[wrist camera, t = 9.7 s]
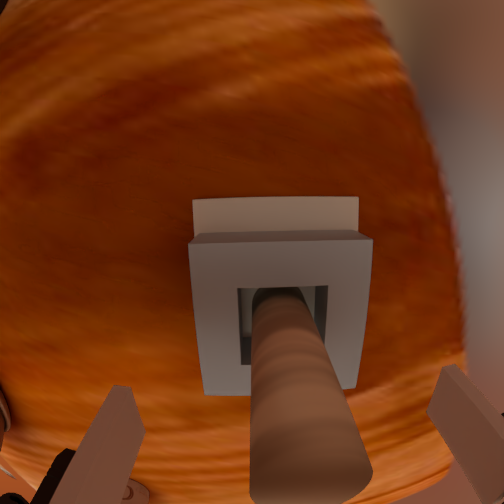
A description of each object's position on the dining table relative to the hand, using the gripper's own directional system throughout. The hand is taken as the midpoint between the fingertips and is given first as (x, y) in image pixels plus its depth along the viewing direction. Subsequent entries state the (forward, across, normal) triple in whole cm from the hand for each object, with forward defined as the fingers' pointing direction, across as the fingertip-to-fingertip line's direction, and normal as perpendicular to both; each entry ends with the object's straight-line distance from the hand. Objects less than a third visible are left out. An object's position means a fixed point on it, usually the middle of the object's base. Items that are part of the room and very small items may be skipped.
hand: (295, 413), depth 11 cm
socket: (+13, 0, -1) cm, 13 cm away
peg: (+12, 0, -1) cm, 12 cm away
